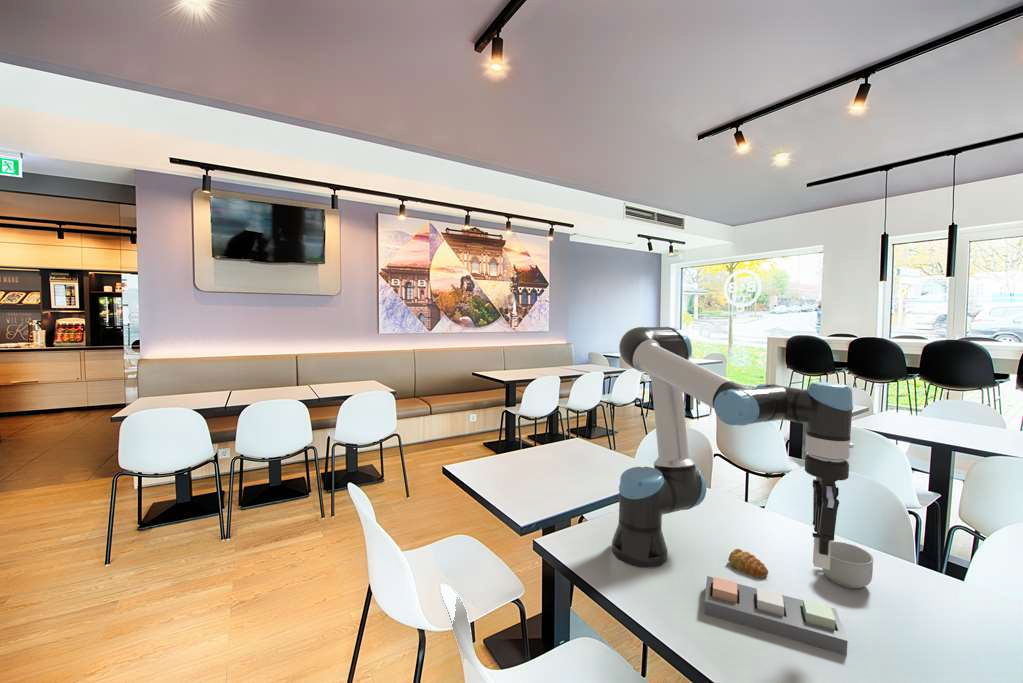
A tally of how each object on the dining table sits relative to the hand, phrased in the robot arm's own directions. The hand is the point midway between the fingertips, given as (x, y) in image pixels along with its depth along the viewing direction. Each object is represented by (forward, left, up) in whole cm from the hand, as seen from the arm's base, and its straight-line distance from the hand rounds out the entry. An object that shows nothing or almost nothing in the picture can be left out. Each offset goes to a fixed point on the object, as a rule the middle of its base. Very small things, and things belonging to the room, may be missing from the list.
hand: (821, 565), depth 93 cm
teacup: (+9, +27, -15) cm, 32 cm away
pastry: (-13, +21, -15) cm, 28 cm away
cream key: (-9, 0, -12) cm, 15 cm away
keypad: (-9, 0, -14) cm, 17 cm away
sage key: (0, 0, -12) cm, 12 cm away
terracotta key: (-18, 0, -12) cm, 22 cm away
